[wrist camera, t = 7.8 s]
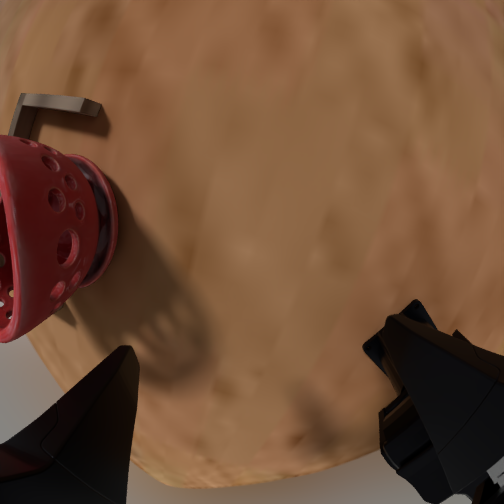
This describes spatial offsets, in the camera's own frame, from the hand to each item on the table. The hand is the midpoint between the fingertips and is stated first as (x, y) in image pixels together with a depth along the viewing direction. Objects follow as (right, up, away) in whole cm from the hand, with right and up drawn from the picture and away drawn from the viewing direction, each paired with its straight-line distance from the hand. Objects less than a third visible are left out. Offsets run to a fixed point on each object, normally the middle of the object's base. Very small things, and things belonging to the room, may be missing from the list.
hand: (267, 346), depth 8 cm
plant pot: (-16, +6, +12) cm, 21 cm away
